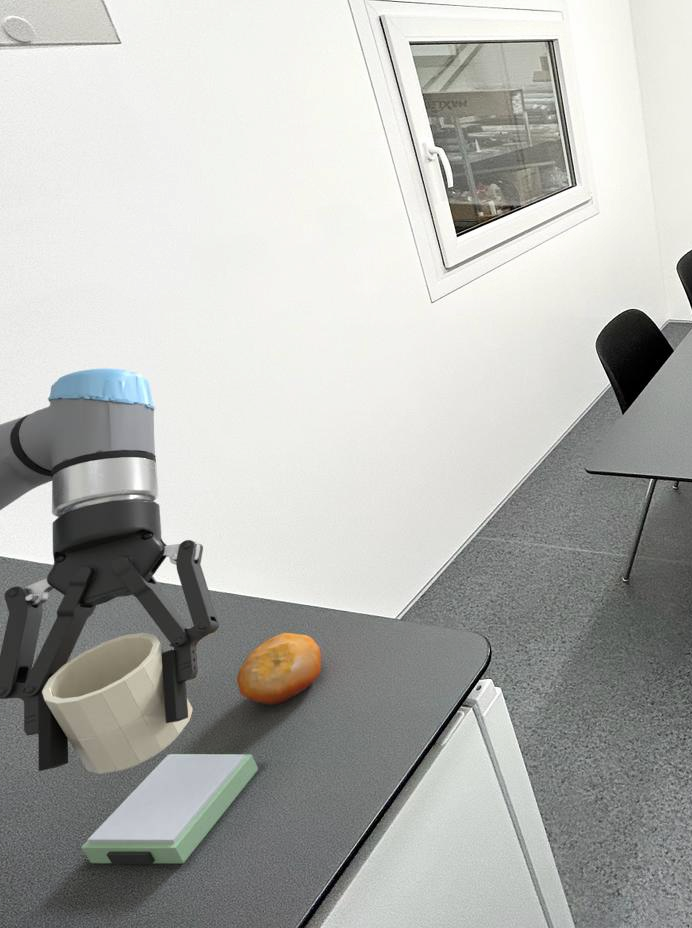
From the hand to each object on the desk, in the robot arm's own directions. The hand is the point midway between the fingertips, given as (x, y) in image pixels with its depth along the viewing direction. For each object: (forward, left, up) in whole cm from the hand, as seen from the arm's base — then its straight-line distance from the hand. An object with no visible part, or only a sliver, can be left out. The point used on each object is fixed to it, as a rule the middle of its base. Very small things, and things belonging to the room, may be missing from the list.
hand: (117, 742), depth 58 cm
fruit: (+8, +15, -15) cm, 23 cm away
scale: (0, +3, -14) cm, 15 cm away
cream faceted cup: (0, +3, -4) cm, 5 cm away
